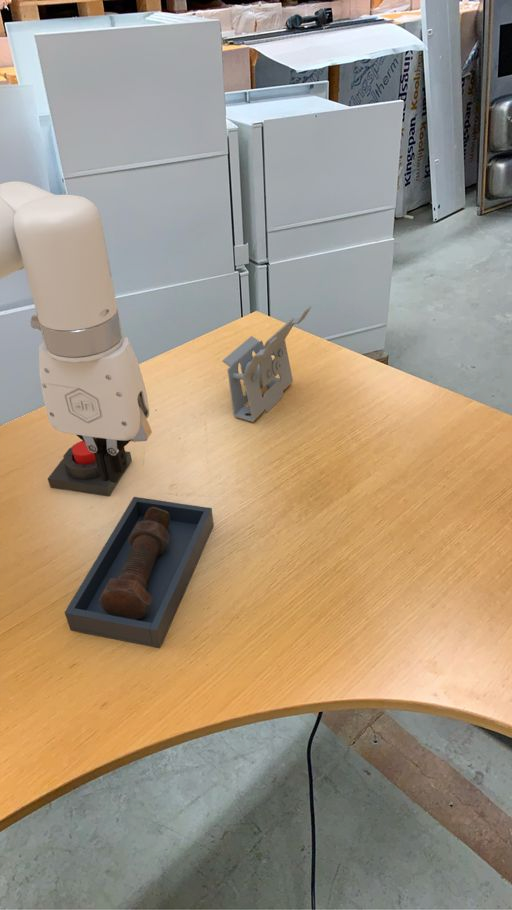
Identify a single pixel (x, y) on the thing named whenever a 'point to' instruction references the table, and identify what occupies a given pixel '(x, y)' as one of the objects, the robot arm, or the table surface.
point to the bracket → (260, 372)
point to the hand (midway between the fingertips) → (114, 474)
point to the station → (81, 476)
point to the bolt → (137, 567)
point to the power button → (82, 454)
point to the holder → (164, 581)
